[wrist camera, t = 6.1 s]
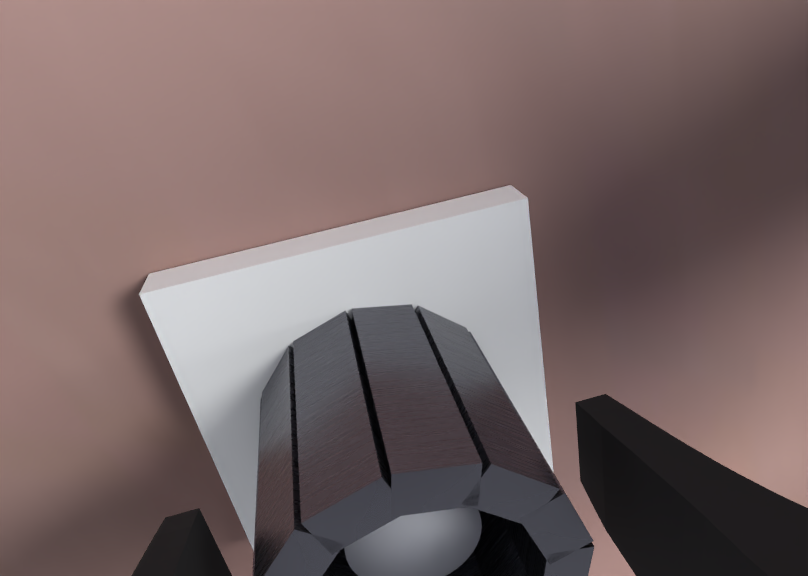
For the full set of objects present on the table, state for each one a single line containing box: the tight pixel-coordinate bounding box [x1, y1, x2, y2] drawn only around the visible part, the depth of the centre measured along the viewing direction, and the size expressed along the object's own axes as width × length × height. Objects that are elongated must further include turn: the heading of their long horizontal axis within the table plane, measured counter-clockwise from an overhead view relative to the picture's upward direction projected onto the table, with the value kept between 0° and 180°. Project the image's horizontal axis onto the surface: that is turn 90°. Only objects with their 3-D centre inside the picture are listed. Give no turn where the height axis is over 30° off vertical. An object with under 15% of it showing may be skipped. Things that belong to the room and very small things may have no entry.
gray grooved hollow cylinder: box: [253, 304, 594, 576], centre depth 12 cm, size 5×5×5 cm
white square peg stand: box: [139, 185, 553, 576], centre depth 12 cm, size 8×8×5 cm
